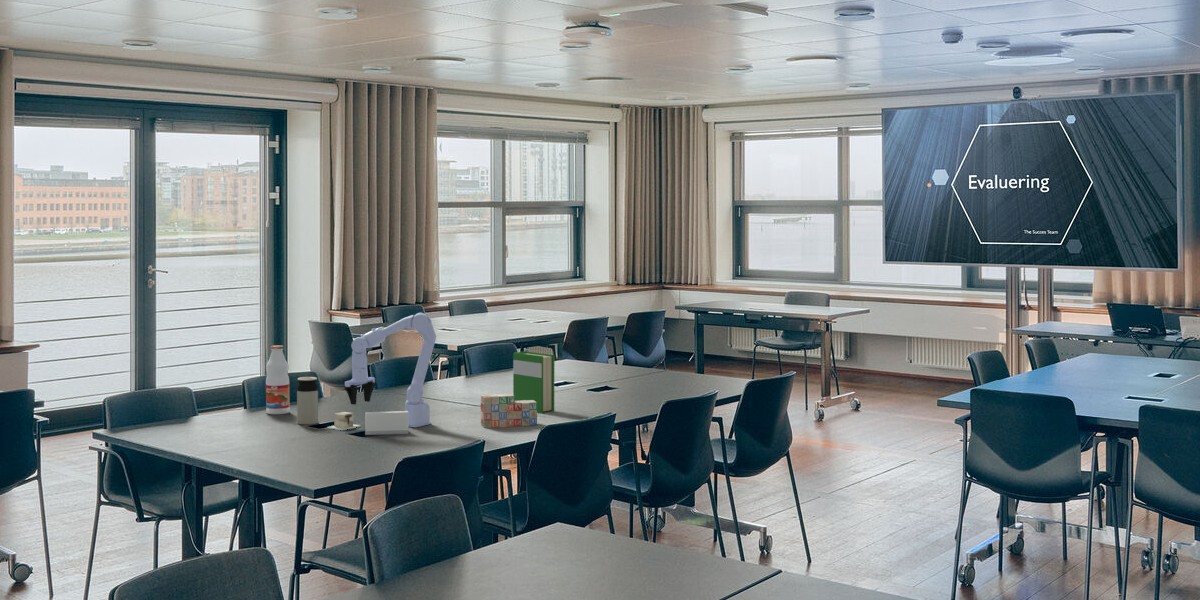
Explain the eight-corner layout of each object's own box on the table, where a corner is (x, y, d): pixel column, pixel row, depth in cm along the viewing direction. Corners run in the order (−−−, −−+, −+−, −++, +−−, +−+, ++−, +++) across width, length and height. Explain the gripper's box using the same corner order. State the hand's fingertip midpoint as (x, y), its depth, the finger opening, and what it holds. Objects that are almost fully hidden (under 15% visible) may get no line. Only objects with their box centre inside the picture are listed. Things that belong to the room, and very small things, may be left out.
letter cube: (343, 424, 446) (343, 411, 445) (353, 425, 443) (353, 413, 443) (334, 426, 442) (334, 413, 441) (344, 427, 439) (343, 414, 438)
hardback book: (554, 411, 481) (554, 354, 480) (541, 413, 476) (541, 356, 474) (526, 406, 494) (526, 351, 492) (513, 408, 488) (513, 352, 487)
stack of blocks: (533, 422, 455) (533, 392, 454) (537, 425, 449) (537, 394, 448) (480, 425, 450) (480, 394, 449) (483, 428, 444) (483, 396, 443)
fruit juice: (293, 411, 479) (292, 344, 477) (284, 415, 469) (283, 347, 467) (272, 410, 480) (271, 344, 478) (262, 414, 471) (261, 346, 469)
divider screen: (365, 434, 428) (365, 413, 427) (365, 432, 433) (365, 411, 432) (408, 433, 431) (408, 412, 430) (408, 431, 436) (408, 410, 435)
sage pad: (345, 424, 449) (345, 423, 449) (360, 426, 444) (360, 425, 444) (326, 428, 440) (326, 427, 440) (341, 430, 436) (341, 429, 436)
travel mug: (312, 425, 447) (312, 379, 445) (293, 424, 448) (293, 379, 447) (321, 421, 454) (321, 377, 453) (303, 421, 456) (302, 376, 455)
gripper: (365, 365, 452) (365, 399, 453) (338, 369, 439) (339, 404, 441) (378, 366, 448) (379, 400, 449) (352, 370, 436) (352, 406, 437)
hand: (360, 402), depth 445 cm, fingers open, 7 cm apart
